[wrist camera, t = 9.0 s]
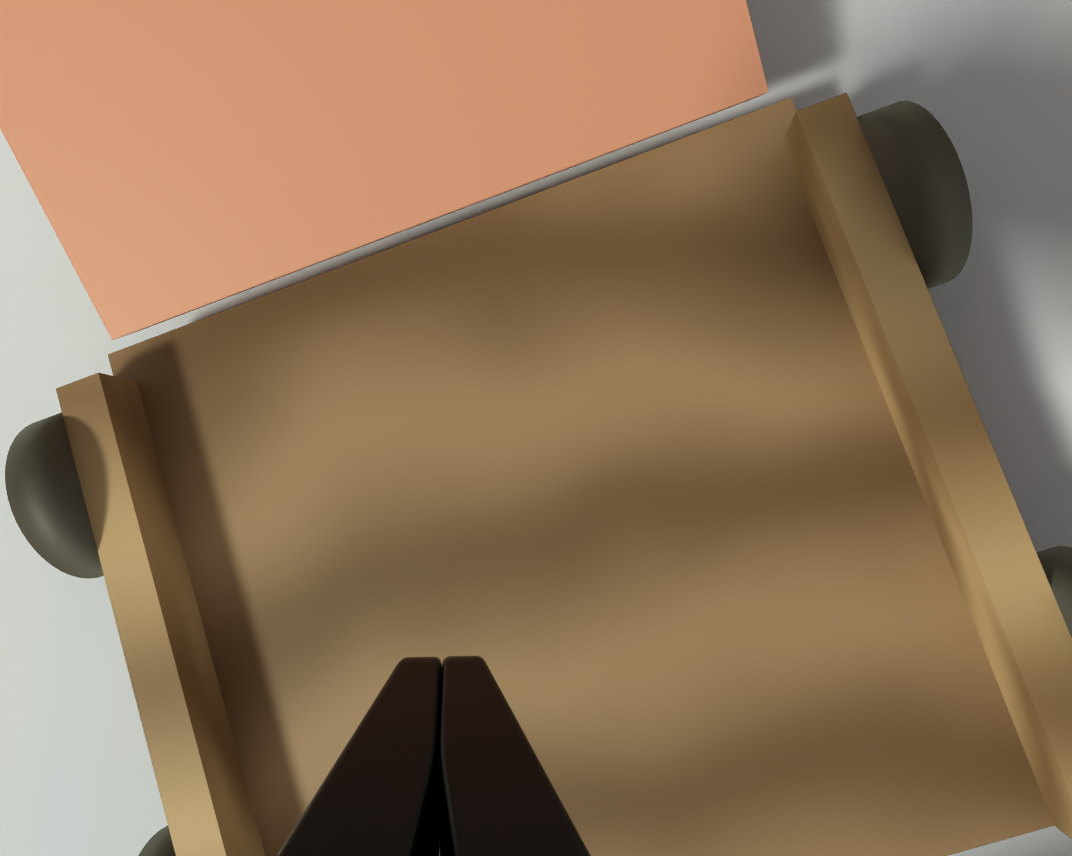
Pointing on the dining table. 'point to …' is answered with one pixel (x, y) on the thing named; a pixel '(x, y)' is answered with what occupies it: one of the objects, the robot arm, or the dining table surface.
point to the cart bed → (595, 511)
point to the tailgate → (326, 121)
